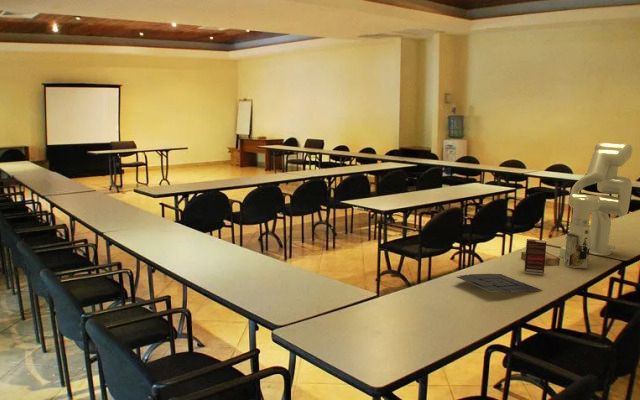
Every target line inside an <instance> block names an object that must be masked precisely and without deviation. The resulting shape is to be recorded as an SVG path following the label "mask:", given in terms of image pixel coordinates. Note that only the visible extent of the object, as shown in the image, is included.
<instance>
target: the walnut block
mask: <svg viewBox="0 0 640 400" xmlns="http://www.w3.org/2000/svg"><path fill="white" fill-rule="evenodd" d="M525 254H526V251H522V252H521V255H520V259H521V260H522V261H525ZM560 260H561V258H560V256H559V257H558V256H556V255H554V254H551V253H549V252H547V251H546V254H545V266H544V267H547V266H548V267H549V266H559V265H560V264H561V263H560Z"/></svg>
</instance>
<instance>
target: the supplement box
mask: <svg viewBox="0 0 640 400" xmlns="http://www.w3.org/2000/svg"><path fill="white" fill-rule="evenodd" d="M525 252H526V254H525V260H524V269H523V270H524V274H531V275H540V276H541V275H543V276H544V274H545V267H546V266H545V254H546V252H547V240H543V239H533V238H526V245H525Z"/></svg>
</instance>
